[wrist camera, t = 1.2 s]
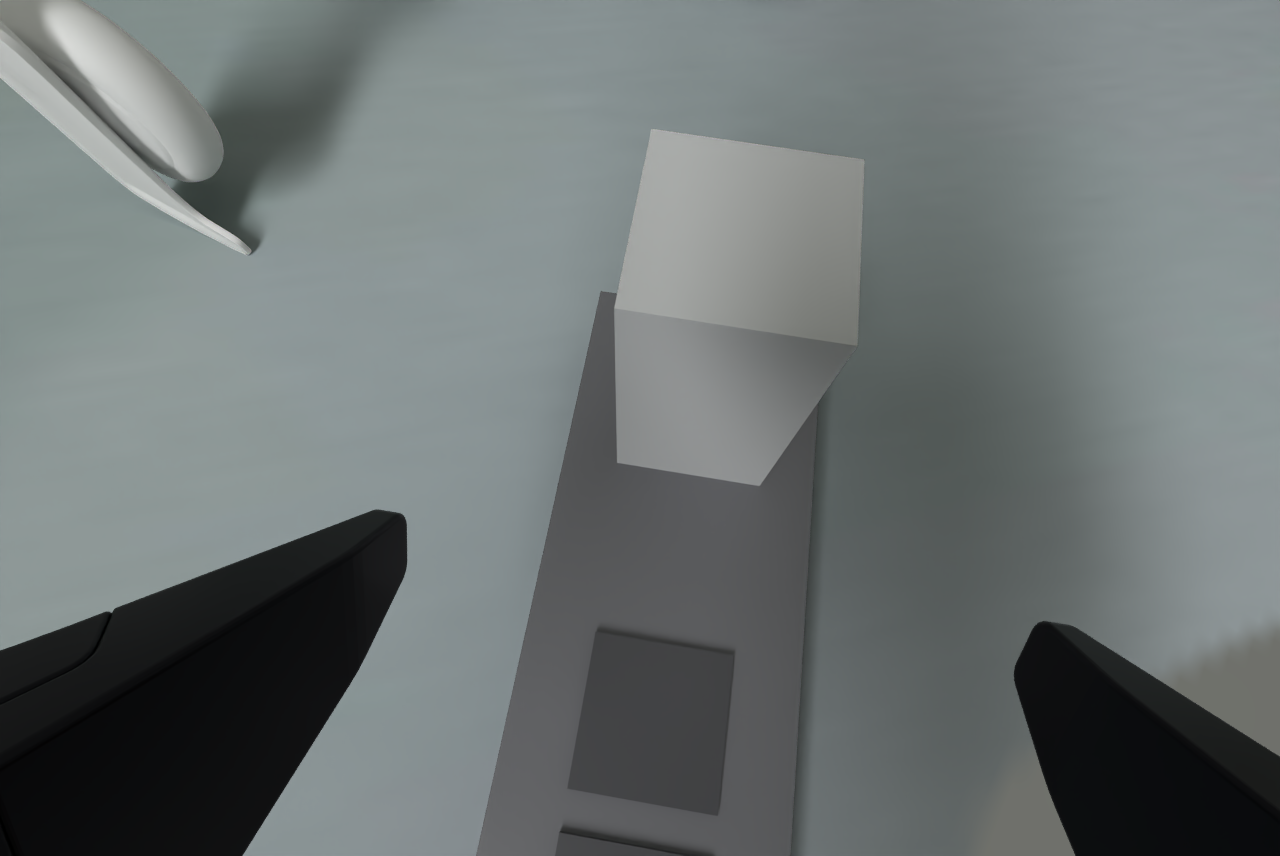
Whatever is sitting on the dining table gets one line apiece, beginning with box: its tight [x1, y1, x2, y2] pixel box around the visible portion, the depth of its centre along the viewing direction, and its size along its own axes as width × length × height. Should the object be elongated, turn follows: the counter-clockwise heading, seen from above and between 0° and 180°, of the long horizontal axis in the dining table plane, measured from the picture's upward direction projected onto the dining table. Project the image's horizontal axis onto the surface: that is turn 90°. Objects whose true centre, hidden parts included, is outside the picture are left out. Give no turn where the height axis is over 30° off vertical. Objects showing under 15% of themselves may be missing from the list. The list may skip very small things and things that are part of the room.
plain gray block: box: [614, 129, 864, 486], centre depth 18 cm, size 5×5×12 cm
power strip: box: [476, 291, 818, 856], centre depth 19 cm, size 24×8×4 cm, turn 171°
